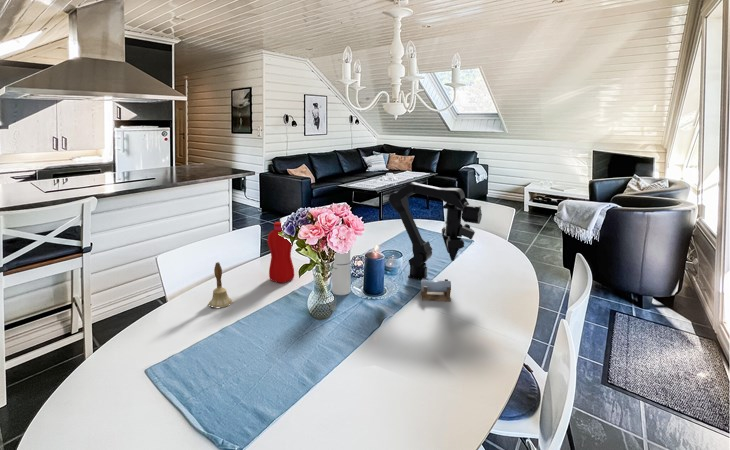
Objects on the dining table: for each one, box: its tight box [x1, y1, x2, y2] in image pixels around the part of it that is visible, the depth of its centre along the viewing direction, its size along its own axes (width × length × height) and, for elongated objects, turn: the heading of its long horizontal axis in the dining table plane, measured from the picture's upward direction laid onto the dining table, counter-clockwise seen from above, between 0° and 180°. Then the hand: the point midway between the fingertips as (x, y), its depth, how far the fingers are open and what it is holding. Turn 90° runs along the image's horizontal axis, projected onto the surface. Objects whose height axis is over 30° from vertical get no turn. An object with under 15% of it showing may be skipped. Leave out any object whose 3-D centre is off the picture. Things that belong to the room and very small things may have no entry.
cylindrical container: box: [331, 248, 352, 296], centre depth 150 cm, size 7×7×25 cm
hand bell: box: [208, 261, 233, 308], centre depth 140 cm, size 8×8×16 cm
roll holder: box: [420, 278, 452, 302], centre depth 150 cm, size 11×8×6 cm
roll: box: [420, 279, 452, 292], centre depth 149 cm, size 11×4×4 cm, turn 87°
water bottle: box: [266, 221, 295, 284], centre depth 161 cm, size 9×11×25 cm
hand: (450, 256), depth 159 cm, fingers open, 9 cm apart
